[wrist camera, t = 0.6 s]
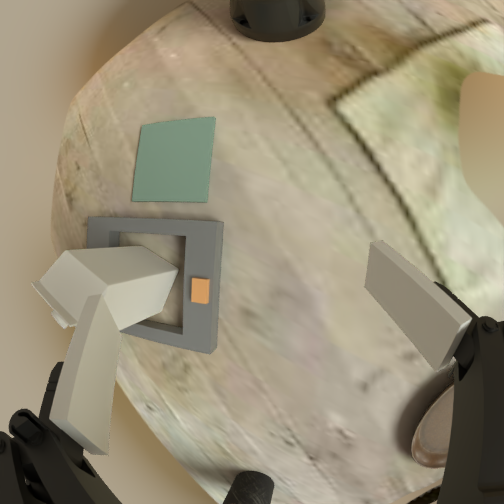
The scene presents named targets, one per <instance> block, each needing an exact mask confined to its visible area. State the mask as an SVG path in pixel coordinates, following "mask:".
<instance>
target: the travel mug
mask: <svg viewBox="0 0 504 504" xmlns="http://www.w3.org/2000/svg"><path fill="white" fill-rule="evenodd" d="M273 489H274V482H273V480H272V479H271V478H270V477H269V476H267V475H265V474H263V473H259V472H254V471H246V472H242V473H240V474H238V475H237V476H236V478H235V480H234V482H233V484H232V486H231V488H230V490H229V492H228V494H227V496H226V498H225V500H224V502H223V504H270V503H271V498H272V494H273Z"/></svg>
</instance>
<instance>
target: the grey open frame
mask: <svg viewBox="0 0 504 504" xmlns="http://www.w3.org/2000/svg"><path fill="white" fill-rule="evenodd" d="M223 226H224V222H217V221H199V220H178V219H153V218H122V217H88V229H87V249H93V248H110V247H119V234H120V232H135V233H150V234H165V235H179V236H186V246H185V265H184V292H183V328H181V327H176V326H171V325H167V324H162V323H158V322H153V321H149V320H145V319H144V320H142V321H140V322H138V323H135V324H133V325H131V326H129V327H127V328H124V329H122V330H120V332H123V333H126V334H129V335H133V336H136V337H140V338H143V339H147V340H151V341H155V342H158V343H162V344H166V345H170V346H175V347H179V348H183V349H187V350H192V351H196V352H201V353H206V354H211V353H212V352H213V351H214V350H215V349H216V348H217V332H218V310H219V290H220V272H221V256H222V240H223Z"/></svg>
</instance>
